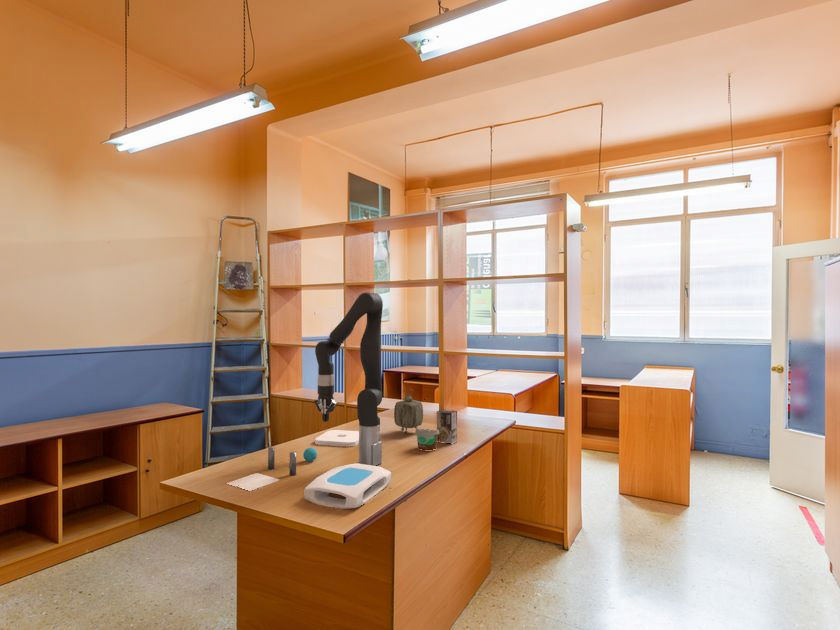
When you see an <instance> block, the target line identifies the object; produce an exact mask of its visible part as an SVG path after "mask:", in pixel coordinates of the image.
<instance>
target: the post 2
mask: <svg viewBox="0 0 840 630" xmlns="http://www.w3.org/2000/svg"><path fill="white" fill-rule="evenodd" d="M288 470H289V471H288V472H289V476H290V477H293V476H294V477H295V476H297V451H290V452H289V469H288Z"/></svg>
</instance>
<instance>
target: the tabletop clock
mask: <svg viewBox="0 0 840 630" xmlns="http://www.w3.org/2000/svg"><path fill="white" fill-rule="evenodd" d="M405 390H410V391H412V393H411V394H410V393H409V392H408V393H405ZM402 393H403V394H404V398H403V400H400V401H397V402H395V405H394V408H393V410H394V411H393V412H394V413H393V414H394V415H393V419H394V424H395V425H396V426H397V427H400V429H401V431H404V430H405V431H404V434H405V435H407V434H408V429H416V428H418V427H419V426H422V425H423V421H424V405H423V403H422V402H421V401H419V400H416V399H413V397H412V396H413V395H414V394H415V393H414V390H413V388H410V387H405V388H404V389H403V390H402Z"/></svg>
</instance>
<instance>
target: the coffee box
mask: <svg viewBox="0 0 840 630" xmlns="http://www.w3.org/2000/svg"><path fill="white" fill-rule="evenodd" d="M438 429H439V433H440V434H438V441H440V442H447V443H453V442H455V441H457V442H458V411H457V410H451V409H445V408H444V409H439V410H437V411H436V430H438Z"/></svg>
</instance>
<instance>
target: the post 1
mask: <svg viewBox="0 0 840 630" xmlns="http://www.w3.org/2000/svg"><path fill="white" fill-rule="evenodd" d="M275 448H276V447H275V446H268V447H267V470H268V469H269V470H268V471H272V469H273V470H274V469H275V450H276V449H275Z"/></svg>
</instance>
